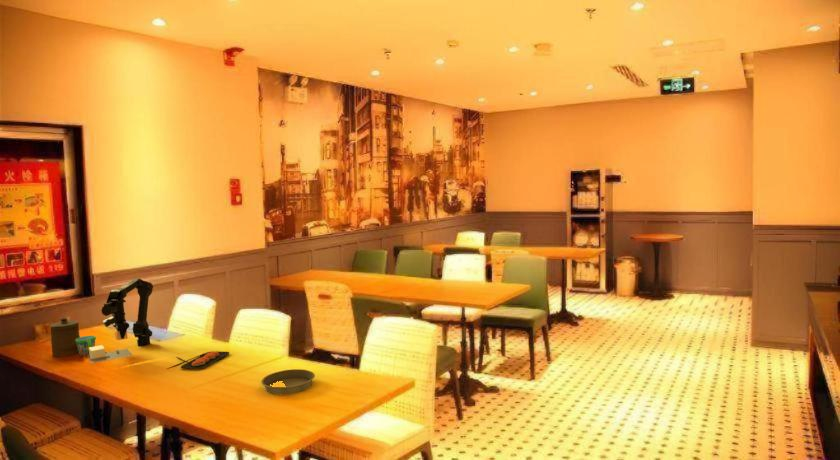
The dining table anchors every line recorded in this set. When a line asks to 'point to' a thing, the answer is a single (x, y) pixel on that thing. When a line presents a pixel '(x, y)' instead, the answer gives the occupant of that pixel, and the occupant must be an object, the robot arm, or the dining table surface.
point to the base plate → (111, 355)
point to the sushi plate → (203, 360)
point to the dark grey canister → (64, 337)
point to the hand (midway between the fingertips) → (121, 337)
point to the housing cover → (96, 352)
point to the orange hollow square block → (118, 337)
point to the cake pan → (289, 381)
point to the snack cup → (85, 344)
